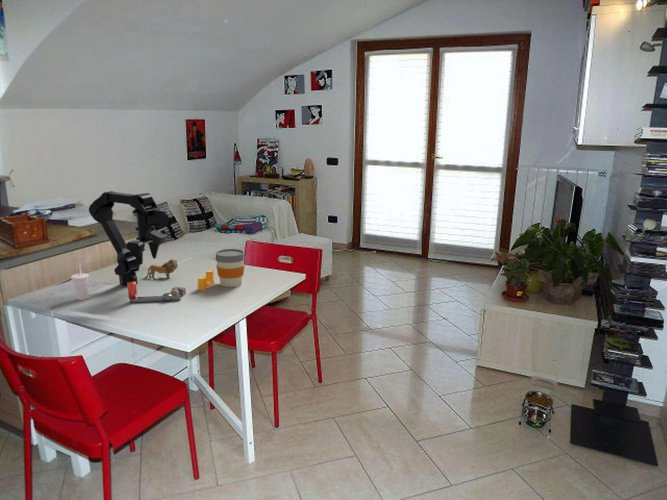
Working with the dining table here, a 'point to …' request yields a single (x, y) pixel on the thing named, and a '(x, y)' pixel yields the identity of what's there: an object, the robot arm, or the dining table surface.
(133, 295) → the lever
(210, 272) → the pipe clamp
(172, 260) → the lion figurine
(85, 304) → the dining table surface
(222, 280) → the reusable coffee cup
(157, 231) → the robot arm
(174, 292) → the tan rounded piece
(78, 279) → the smoothie
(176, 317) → the dining table surface
